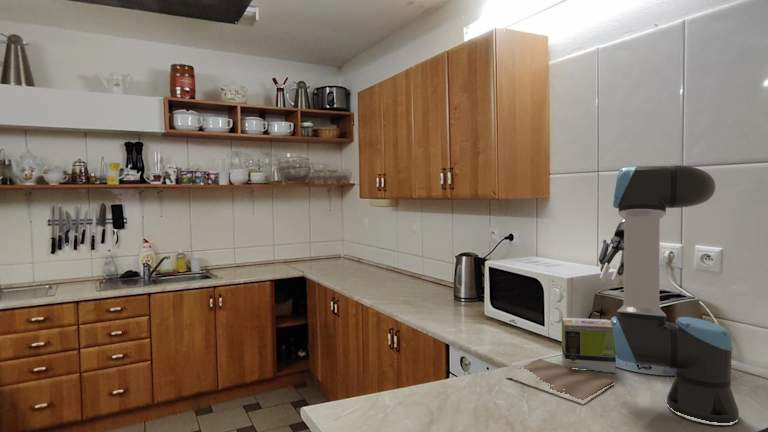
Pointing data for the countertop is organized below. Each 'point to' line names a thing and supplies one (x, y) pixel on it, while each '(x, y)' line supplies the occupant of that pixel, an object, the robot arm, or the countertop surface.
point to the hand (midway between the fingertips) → (607, 280)
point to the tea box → (588, 344)
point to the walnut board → (568, 379)
